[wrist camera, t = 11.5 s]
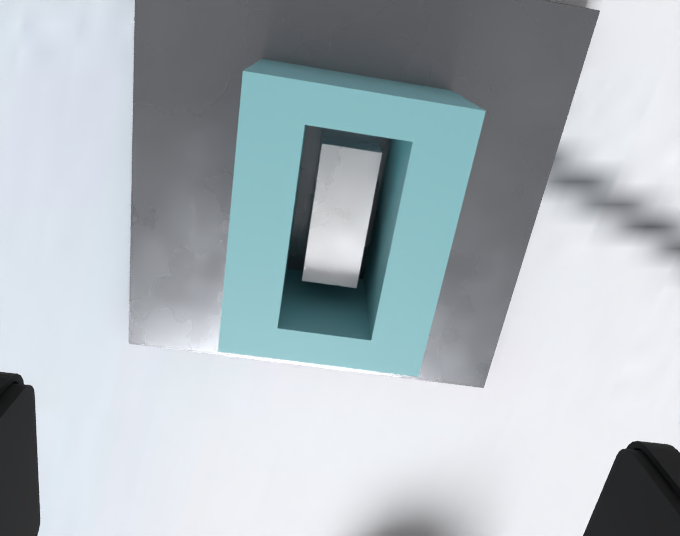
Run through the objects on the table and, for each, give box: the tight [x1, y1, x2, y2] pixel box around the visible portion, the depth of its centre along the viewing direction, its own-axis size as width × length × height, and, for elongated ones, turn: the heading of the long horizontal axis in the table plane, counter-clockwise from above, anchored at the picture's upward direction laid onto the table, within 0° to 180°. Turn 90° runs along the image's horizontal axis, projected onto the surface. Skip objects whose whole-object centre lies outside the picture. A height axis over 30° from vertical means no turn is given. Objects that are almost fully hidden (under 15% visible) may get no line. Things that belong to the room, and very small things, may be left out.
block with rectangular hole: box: [218, 59, 486, 377], centre depth 21 cm, size 9×7×5 cm
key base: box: [129, 0, 600, 388], centre depth 22 cm, size 16×16×4 cm
